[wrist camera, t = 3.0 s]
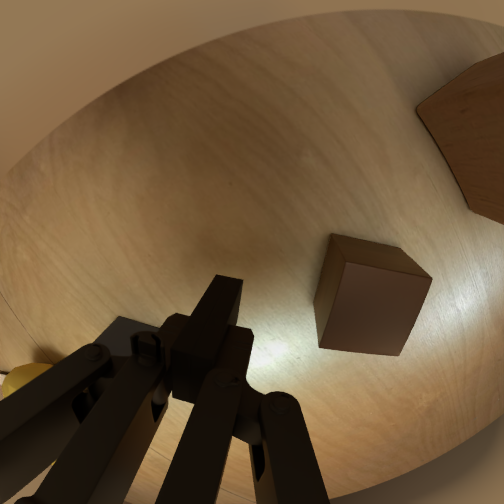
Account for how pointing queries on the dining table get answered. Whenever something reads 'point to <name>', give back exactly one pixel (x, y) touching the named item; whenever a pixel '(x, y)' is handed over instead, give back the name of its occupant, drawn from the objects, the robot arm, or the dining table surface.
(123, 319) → the slate block
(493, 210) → the wooden block
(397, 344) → the walnut block
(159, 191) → the dining table surface
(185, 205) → the dining table surface
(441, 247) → the dining table surface
